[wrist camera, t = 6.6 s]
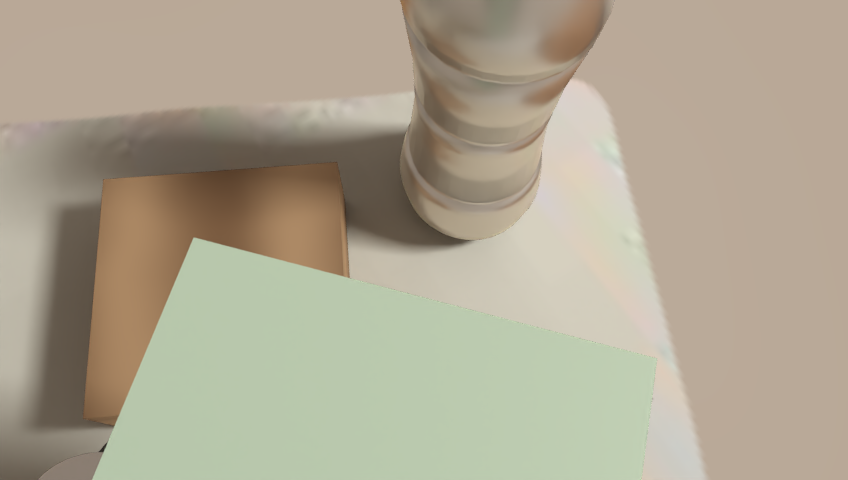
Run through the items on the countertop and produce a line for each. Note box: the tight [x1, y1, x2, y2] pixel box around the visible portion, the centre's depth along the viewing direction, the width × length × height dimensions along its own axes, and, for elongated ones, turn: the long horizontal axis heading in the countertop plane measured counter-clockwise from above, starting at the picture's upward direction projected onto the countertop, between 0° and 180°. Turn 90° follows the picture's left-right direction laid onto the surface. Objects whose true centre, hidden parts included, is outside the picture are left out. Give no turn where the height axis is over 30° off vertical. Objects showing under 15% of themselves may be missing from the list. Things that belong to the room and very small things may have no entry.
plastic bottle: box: [400, 0, 615, 240], centre depth 23 cm, size 6×7×20 cm
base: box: [83, 162, 350, 426], centre depth 28 cm, size 10×10×4 cm
